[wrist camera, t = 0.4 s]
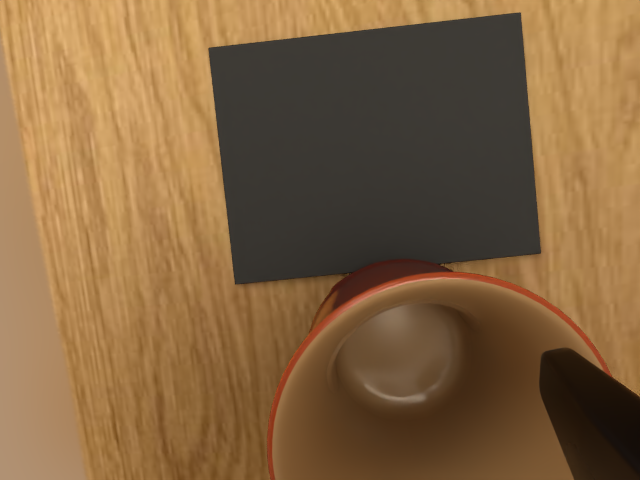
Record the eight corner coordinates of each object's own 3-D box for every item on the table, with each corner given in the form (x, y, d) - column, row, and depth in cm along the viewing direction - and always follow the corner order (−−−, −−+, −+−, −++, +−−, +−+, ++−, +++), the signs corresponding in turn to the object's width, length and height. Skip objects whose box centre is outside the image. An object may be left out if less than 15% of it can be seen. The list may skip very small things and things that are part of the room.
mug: (289, 242, 23) (256, 280, 13) (497, 233, 23) (628, 264, 13) (303, 512, 24) (282, 743, 14) (502, 506, 24) (628, 736, 14)
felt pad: (539, 252, 23) (541, 253, 23) (235, 283, 24) (235, 284, 24) (519, 14, 23) (520, 12, 23) (209, 49, 23) (208, 47, 23)
